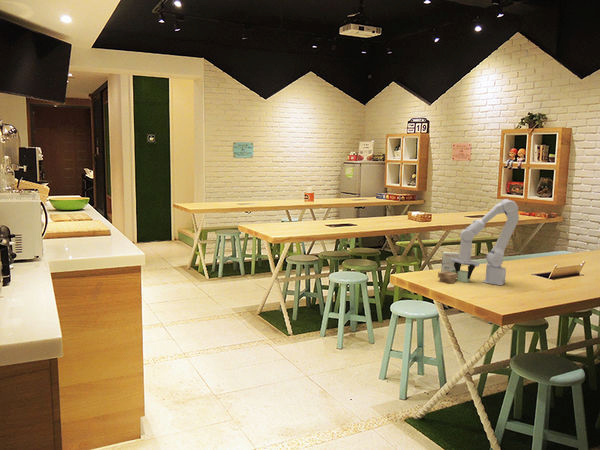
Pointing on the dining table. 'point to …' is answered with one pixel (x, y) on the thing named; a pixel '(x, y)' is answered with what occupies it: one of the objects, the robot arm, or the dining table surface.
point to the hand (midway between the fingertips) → (463, 277)
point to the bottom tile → (447, 280)
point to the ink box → (448, 261)
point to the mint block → (462, 276)
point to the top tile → (447, 275)
